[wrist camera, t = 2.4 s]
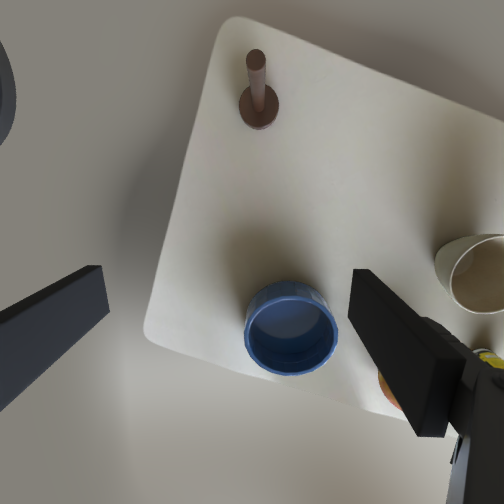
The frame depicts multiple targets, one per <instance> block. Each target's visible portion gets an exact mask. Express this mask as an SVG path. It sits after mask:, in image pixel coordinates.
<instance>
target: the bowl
mask: <svg viewBox="0 0 504 504" xmlns="http://www.w3.org/2000/svg"><path fill="white" fill-rule="evenodd" d="M244 341H245V347H246V349H247V351H248V353H249V355H250V357H251V358H252V359H253V360H254V361H255V362H256V363H257V364H258V365H259V366H260V367H262V368H264V369H266V370H267V371H269V372H271V373H275V374H279V375H283V376H298V375H302V374H306V373H309V372H313V371H314V370H316V369H317V368H319V367H321V366H322V365H324V364H325V363H326V361H327V360H328V359H329V358H330V357H331V356H332V354H333V352H334V350H335V348H336V345H337V342H338V328H337V325H336V322H335V319H334V317H333V315H332V313H331V311H330V309H329V307H328V304H327V303H326V301H325V300H324V298H323V297H322V296H321V294H320V293H319V292H317V291H316V290H315V289H314V288H312V287H310V286H308V285H306V284H304V283H300V282H295V281H281V282H277V283H273V284H271V285H268V286H266V287H265V288H263V289H262V290H260V291H259V292H258V293H257V294H256V295H255V296H254V297H253V299H252V300H251V302H250V304H249V306H248V309H247V314H246V319H245V327H244Z"/></svg>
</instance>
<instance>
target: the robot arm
mask: <svg viewBox="0 0 504 504" xmlns="http://www.w3.org/2000/svg"><path fill="white" fill-rule="evenodd" d="M109 312H110V310H109V304H108V299H107V293H106V288H105V283H104V277H103V272H102V266H101V265H87V266H85V267H83V268H81V269H79V270H78V271H76V272H74V273H72V274H70V275H68V276H66V277H64V278H62V279H61V280H59V281H57V282H55V283H53V284H51V285H49V286H47V287H46V288H44V289H42V290H40V291H38V292H36V293H34V294H32V295H30V296H29V297H27V298H25V299H23V300H21V301H19V302H17V303H15V304H13V305H12V306H10V307H8V308H6V309H4V310H2V311H0V412H1V411H2V410H3V409H4V408H5V407H6V406H7V405H8V404H9V403H10V402H12V401H13V400H14V399H15V398H16V397H17V396H18V395H19V394H20V393H21V392H23V391H24V390H25V389H26V388H27V387H28V386H29V385H30V384H31V383H32V382H33V381H35V379H37V378H38V377H39V376H40V375H41V374H42V373H43V372H45V371H46V369H48V368H49V367H50V366H51V365H52V364H53V363H54V362H55V361H57V360H58V359H59V358H60V357H61V356H62V355H63V354H64V353H65V352H66V351H67V350H69V349H70V348H71V347H72V346H73V345H74V344H75V343H76V342H77V341H78V340H80V339H81V338H82V337H83V336H84V335H85V334H86V333H87V332H88V331H89V330H90V329H92V328H93V327H94V326H95V325H96V324H97V323H98V322H99V321H100V320H101V319H103V318H104V317H105V316H106V315H107V314H108V313H109ZM348 318H349V320H350V322H351V323H352V325H353V327H354V329H355V330H356V332H357V334H358V335H359V337H360V339H361V341H362V342H363V344H364V346H365V347H366V349H367V351H368V353H369V354H370V356H371V358H372V359H373V361H374V363H375V365H376V366H377V368H378V370H379V371H380V373H381V375H382V377H383V378H384V380H385V382H386V383H387V385H388V387H389V389H390V390H391V392H392V394H393V395H394V397H395V399H396V401H397V402H398V404H399V406H400V407H401V409H402V411H403V413H404V414H405V416H406V418H407V419H408V421H409V423H410V424H411V426H412V428H413V430H414V431H415V433H416V435H417V436H418V437H442V438H444V436H445V433H446V430H447V426H448V423H449V422H450V423H451V425H452V426H453V427H454V429H455V430H456V432H457V433H458V434H459V436H458V439H457V442H456V445H455V449H454V452H453V455H452V458H451V461H450V464H452V470H451V476H450V482H449V489H448V494H447V500H446V504H504V369H501V368H495V367H490V366H489V365H488V364H486V363H485V362H484V361H483V360H482V359H481V358H479V357H478V356H477V355H476V354H475V353H474V352H472V351H471V350H470V349H469V348H468V347H467V346H465V345H464V344H463V343H460V340H458V339H457V338H456V337H455V336H454V335H451V333H450V332H449V331H448V330H447V329H446V328H445V327H443V326H442V325H441V324H439V323H437V322H435V321H433V320H432V319H430V318H428V317H420V316H419V315H418V314H417V313H416V312H415V311H414V310H413V309H412V308H410V307H409V306H408V305H407V304H406V303H405V302H404V301H403V300H402V299H401V298H400V297H398V296H397V295H396V294H395V293H394V292H393V291H392V290H391V289H390V288H389V287H388V286H387V285H385V284H384V283H383V282H382V281H381V280H380V279H379V278H378V277H377V276H376V275H375V274H374V273H372V272H371V271H370V270H369V269H353V277H352V285H351V293H350V302H349V310H348Z"/></svg>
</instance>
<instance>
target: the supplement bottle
mask: <svg viewBox="0 0 504 504" xmlns="http://www.w3.org/2000/svg"><path fill="white" fill-rule="evenodd" d="M472 352H474V353H475V354H476V355H477V356H478V357H479V358H481V359H482V360H483V361H484V362H485V363H486V364H488V365H489V366H490V367H495V368H501V369H504V361H503V360H502V359H501V358H500V357H498V356H497V355H496V354H495V353H493V352H492V351H490V350H488V349H477V350H474V351H472Z"/></svg>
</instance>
